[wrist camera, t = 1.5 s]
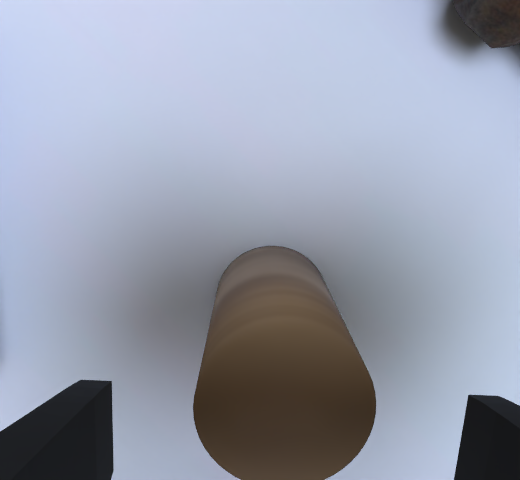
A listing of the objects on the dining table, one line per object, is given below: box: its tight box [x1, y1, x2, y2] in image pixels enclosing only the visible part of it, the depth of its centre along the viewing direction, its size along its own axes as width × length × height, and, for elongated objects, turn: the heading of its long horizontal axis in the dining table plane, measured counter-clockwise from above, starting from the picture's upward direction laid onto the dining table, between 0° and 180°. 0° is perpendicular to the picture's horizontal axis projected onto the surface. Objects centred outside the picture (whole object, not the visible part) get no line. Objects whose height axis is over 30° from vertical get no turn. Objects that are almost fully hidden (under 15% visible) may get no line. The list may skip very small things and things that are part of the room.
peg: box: [193, 246, 376, 480], centre depth 14 cm, size 4×4×7 cm
